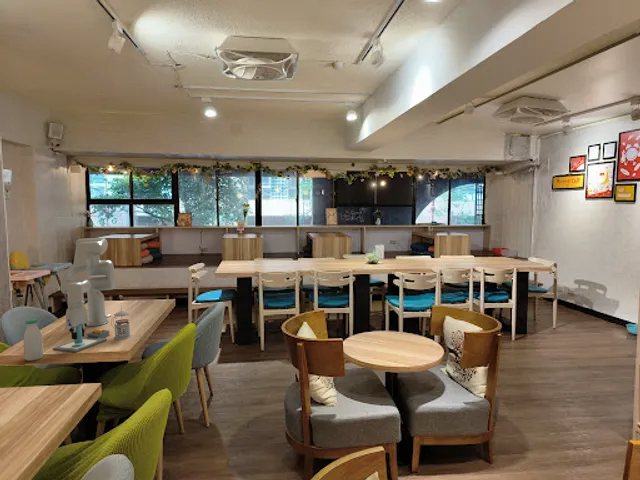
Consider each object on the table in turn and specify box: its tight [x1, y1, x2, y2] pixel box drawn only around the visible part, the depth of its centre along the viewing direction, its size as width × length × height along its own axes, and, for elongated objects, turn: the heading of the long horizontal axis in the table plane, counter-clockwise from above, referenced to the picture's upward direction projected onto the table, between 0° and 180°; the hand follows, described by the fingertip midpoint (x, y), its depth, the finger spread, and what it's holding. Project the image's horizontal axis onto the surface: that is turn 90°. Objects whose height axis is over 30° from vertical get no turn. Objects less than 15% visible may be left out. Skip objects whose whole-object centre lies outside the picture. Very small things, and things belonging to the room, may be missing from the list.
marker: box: [73, 324, 83, 344], centre depth 221 cm, size 4×4×12 cm
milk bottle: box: [23, 318, 44, 362], centre depth 205 cm, size 8×8×20 cm
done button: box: [94, 328, 103, 334], centre depth 238 cm, size 4×4×3 cm
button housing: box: [86, 329, 110, 339], centre depth 238 cm, size 8×8×3 cm
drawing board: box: [52, 336, 107, 353], centre depth 225 cm, size 20×16×1 cm
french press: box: [110, 294, 133, 341], centre depth 237 cm, size 10×12×25 cm
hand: (78, 337), depth 221 cm, fingers closed on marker, 4 cm apart
